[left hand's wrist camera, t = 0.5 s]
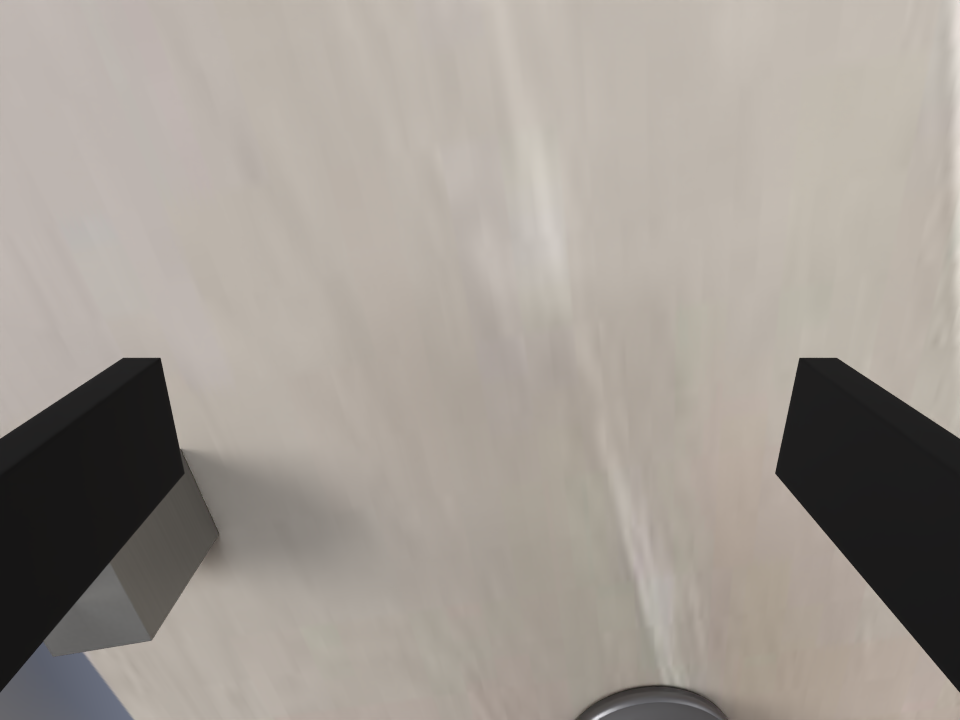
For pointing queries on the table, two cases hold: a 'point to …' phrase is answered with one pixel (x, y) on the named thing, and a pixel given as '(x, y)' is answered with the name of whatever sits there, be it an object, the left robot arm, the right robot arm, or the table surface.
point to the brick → (141, 576)
